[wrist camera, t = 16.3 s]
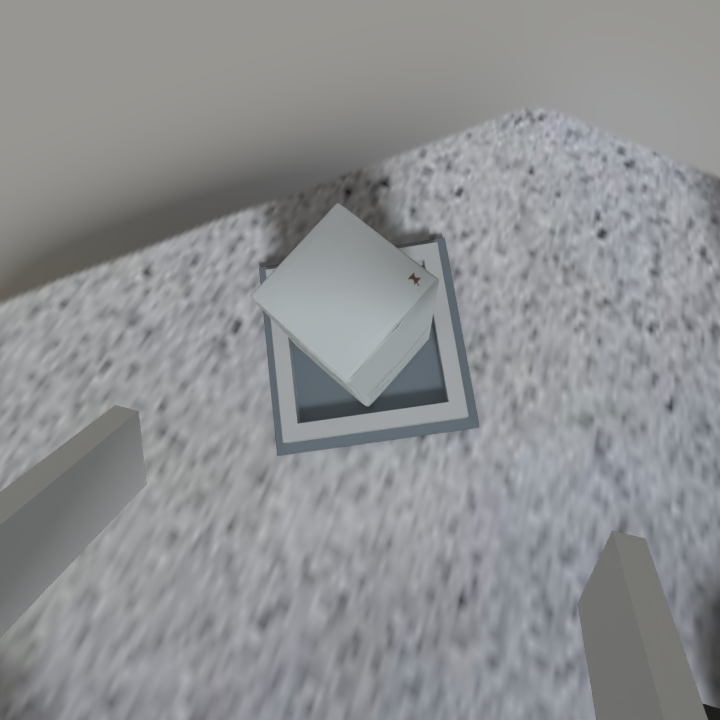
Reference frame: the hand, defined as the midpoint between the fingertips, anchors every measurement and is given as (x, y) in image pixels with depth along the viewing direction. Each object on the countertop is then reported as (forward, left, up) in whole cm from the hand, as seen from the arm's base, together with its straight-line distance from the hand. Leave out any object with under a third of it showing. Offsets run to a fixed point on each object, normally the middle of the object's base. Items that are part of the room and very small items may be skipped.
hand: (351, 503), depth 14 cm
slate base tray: (0, -10, -24) cm, 26 cm away
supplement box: (0, -10, -23) cm, 25 cm away
